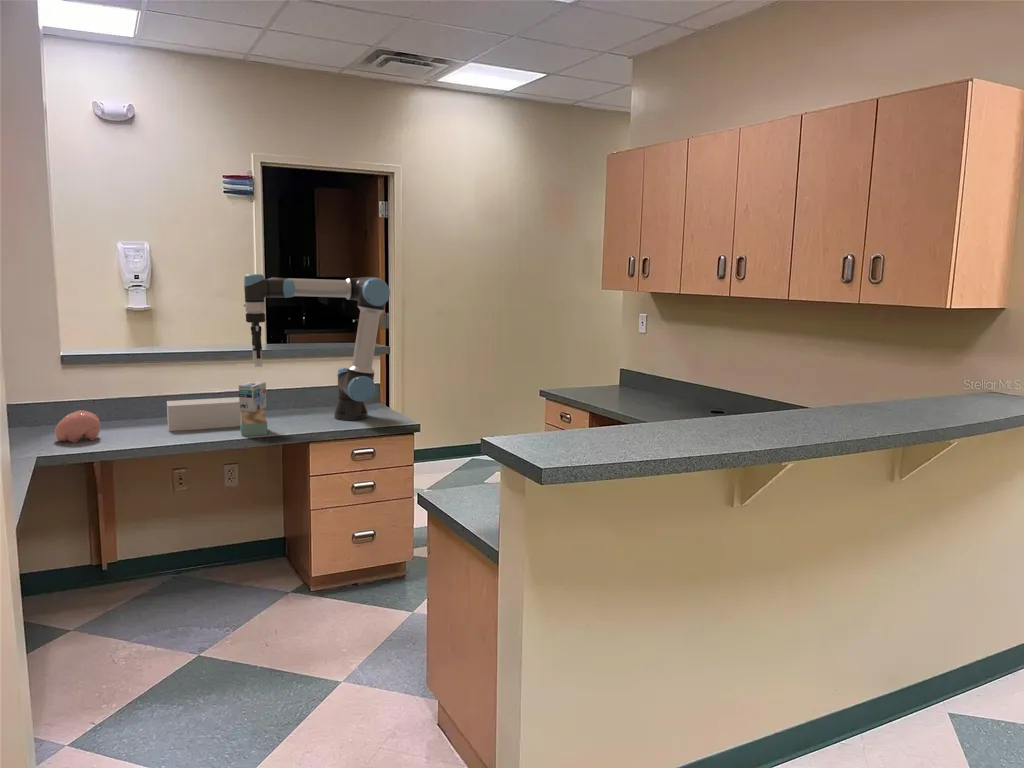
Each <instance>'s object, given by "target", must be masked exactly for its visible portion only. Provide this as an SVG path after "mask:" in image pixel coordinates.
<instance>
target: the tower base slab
mask: <svg viewBox="0 0 1024 768" xmlns="http://www.w3.org/2000/svg"><path fill="white" fill-rule="evenodd" d="M239 431H240V435H241V436H242V437H245V436H248V437H249V436H262V434H263V436H264V435H268V421H267V420H266V418H265V423H260V424H242V423H241V419H240V426H239Z"/></svg>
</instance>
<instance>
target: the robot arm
mask: <svg viewBox="0 0 1024 768" xmlns="http://www.w3.org/2000/svg"><path fill="white" fill-rule="evenodd" d="M243 281H244V282H243V284H244V285H243V287H244V288H243V289H244V303H245V304H243V307H245V312H246V313H245V322H246V323H249V324H250V323H251V326H250V331H251V332H250V333H251V334H250V335H251V345H252V346H251V347H252V348H251V349H252V362H254V367H255V368H257V367H263V352H262V351H263V347H262V326H261V325H260V323H265V322H266V313H265V311H266V303H265V302H266V301H265V298H267V299H268V298H285V299H287V298H293V297H319V298H324V297H325V298H345V299H346V300H347V301H349V300H350V301H357V308H358V309H359V311H360V312H359V317H358V324H357V331H356V336H355V337H356V338H355V343H354V351H353V356H352V364H351V365H350V366H349V367H340V368H338V370H337V373H336V374H337V403H336V405H335V406H336V407H335V409H334V413H333V415H334V416H333V417H334V418H335V419H337V420H341V421H361V420H364V419H367V418H368V416H369V412H368V409H367V405H366V403H365V402H367V401H368V400H370V399H371V398H372V397H373V396H374V394H375V391H376V385H375V382H374V378H375V370H374V368H373V364H374V363H373V362H374V358H375V356H374V355H375V350H376V343H377V342H376V341H377V335H378V330H379V323H380V317H381V315H382V313H384V312H385V308H386V303H387V302H388V301H389V300H390V299H389V298H390V295H391V291H390V290H391V289H390V287H389V285H388V284H387V282H386V281H384V280H383V279H381V278H379V277H373V276H372V277H371V276H362V277H348V278H347V277H346V279H325V278H324V279H321V278H320V279H319V278H318V279H317V278H291V277H289V278H288V277H287V278H285V277H275V276H274V277H273V276H272V277H270V278H264V274H262V273H259V274H258V273H247V274H245V275H244V280H243Z"/></svg>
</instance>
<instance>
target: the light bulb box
mask: <svg viewBox="0 0 1024 768" xmlns="http://www.w3.org/2000/svg"><path fill="white" fill-rule="evenodd" d="M238 397H239V407H240V411H248V412H255V411H258V410H260V409H263V408H264V409H266V408H267V384H266V382H265V381H254V380H253V381H252V380H251V381H249V382H245V383H241V384H240V385H239V384H238Z"/></svg>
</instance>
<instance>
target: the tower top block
mask: <svg viewBox="0 0 1024 768" xmlns="http://www.w3.org/2000/svg"><path fill="white" fill-rule="evenodd" d="M240 414H241V423H242V424H260V423H265V419H266V411H265V408H263V409H260V410H258V411H255V412H248V411H240Z"/></svg>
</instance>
